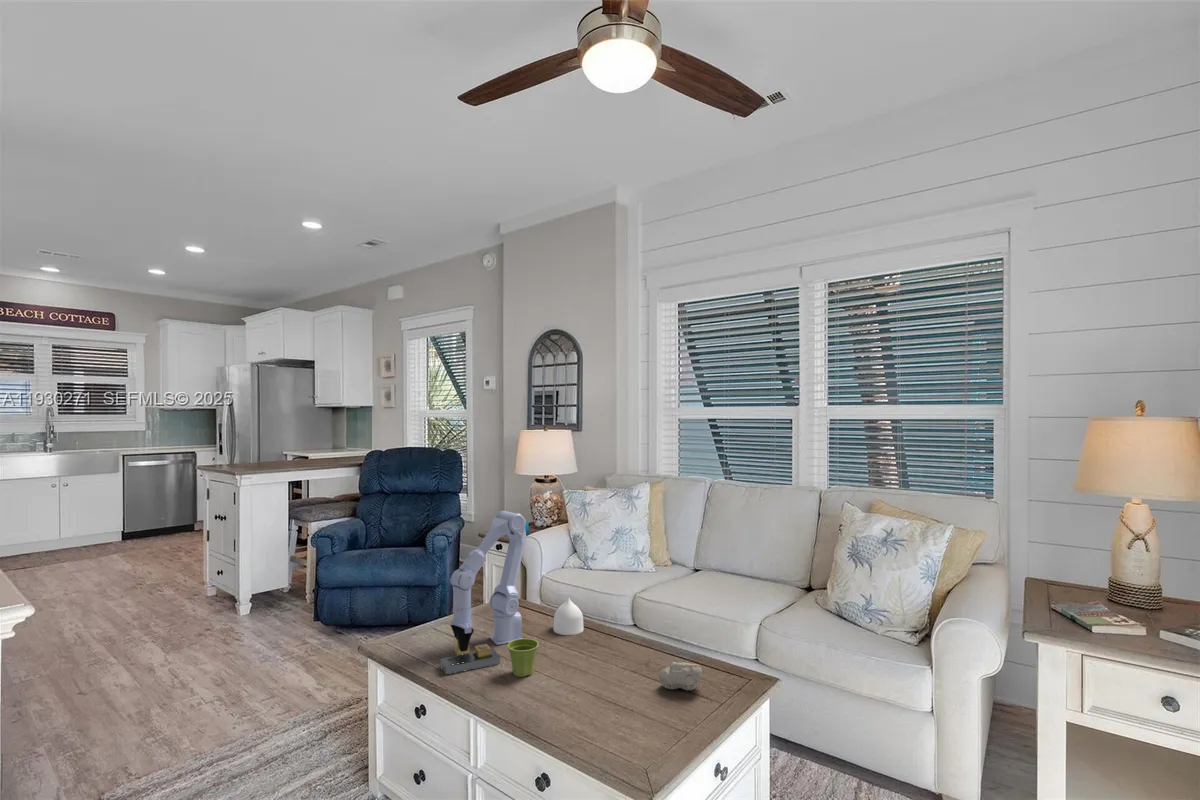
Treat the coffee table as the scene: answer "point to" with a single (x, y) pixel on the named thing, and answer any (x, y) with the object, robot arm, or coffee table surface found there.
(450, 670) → the grey slotted tray
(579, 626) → the teardrop
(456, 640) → the gold square block
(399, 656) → the coffee table surface
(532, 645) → the plant pot
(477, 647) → the tan square frame
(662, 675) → the fossil replica
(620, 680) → the coffee table surface
